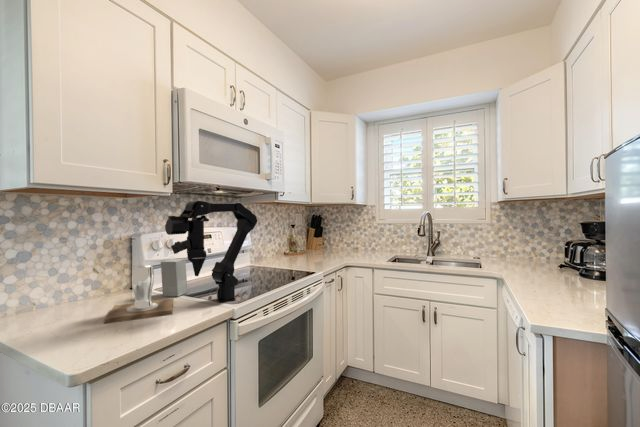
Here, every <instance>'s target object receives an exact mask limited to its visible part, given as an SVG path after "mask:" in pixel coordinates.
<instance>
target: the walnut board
mask: <svg viewBox="0 0 640 427" xmlns="http://www.w3.org/2000/svg"><path fill="white" fill-rule="evenodd" d="M174 303H175V301H174V298H166V299H157V300H152V304H153V306H152V307H150V308H147V309H140V310H136V309H134V308H133V307H134V302H132V303H124V304H115V305H113V307H112V308H111V310H110V311H109V313H108V314H107V315H106V316H105V318H104V324H109V323H117V322H118V323H119V322H124V321H133V320H140V319H147V318H154V317H162V316H169V315H174V313H173V312H174Z"/></svg>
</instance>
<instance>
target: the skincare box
mask: <svg viewBox="0 0 640 427" xmlns="http://www.w3.org/2000/svg"><path fill="white" fill-rule="evenodd" d="M160 272H161V288H162V297H175V296H178V297H181V296H183V295H186V294H188V279H187V278H188V277H187V264H186V259H185V258H179V259H178V258H170V259H166V260H163V261H160Z"/></svg>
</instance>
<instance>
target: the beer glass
mask: <svg viewBox="0 0 640 427" xmlns="http://www.w3.org/2000/svg"><path fill="white" fill-rule="evenodd" d="M154 279H155V271H154V265H153V264H141V265H136V266H133V267H132V271H131V285H132V291H133V295H134V302H133V303H134V307H133V308H134V309H136V310H140V309H147V308H150V307H152V306H153V304H152V301H153V300H152V293H153V286H154V281H155V280H154Z"/></svg>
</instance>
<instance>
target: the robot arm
mask: <svg viewBox="0 0 640 427" xmlns="http://www.w3.org/2000/svg"><path fill="white" fill-rule="evenodd" d="M225 212H231V213H232V214H233V217H234V218H235V219H236V221H237V222H236V230H235V233H234V236H233V237H232V240H231V242H230V244H229V247H228V248H227V250H226V252H225V254H224V257H223V259H222V260H221V261H216V262H215V264H214V266H213V268H212V270H211V278H212V279H213V281H214V282H215V284H216V285H217V288H216V299H217V300H218V302H219V303H223V302H231V301H236V297H235V292H236V291H235V290H236V289H235V286H237V285H238V283H239V279H238V278H237V277H236V276H235V275H234V274H235V262H236V260H237V258H238V256H239V253H240V251H241V250H242V247H243V245H244V242H245V240H246V239H247V235H249V233H250V232H252V231H253V230H254V228H255V227H256V225H257V223H258V218H257V216H256V214H255V213H253V212H252V211H251V210H250V209H248V208H247V207H245V206H244V204H243V203H241V202H225V203H224V202H223V203H222V202H221V203H220V202H219V203H218V202H217V203H216V202H215V203H214V202H209V201H205V200H192V201H188V202H187V203H186V204H185V208H184V210H182V213H181V214H180V215H179V216H176V215H168V216H167V220H166V222H165V224H164V230H165V233H166V234H167V235H168V236H169V235H170V236H174V235H186V233H187V236H186V239H184V240H182V241H179V240H178V241H175V242H174V244H171V246H170V248H171V250H172V252H173V254H174V255H177V254H179V253H180V252H182V251H185V250H186V255H187V260H188V261H189V262H190V263H191V264H192V268H193V273H194V276H195V277H199V275H200V273H201V271H202V268H203V265H204V263H205V262H206V259H207V251H206V250H205V222H210V219H209V218H208V217H207V216H206V215H209V214H212V213H225ZM198 216H199V217H198Z"/></svg>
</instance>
